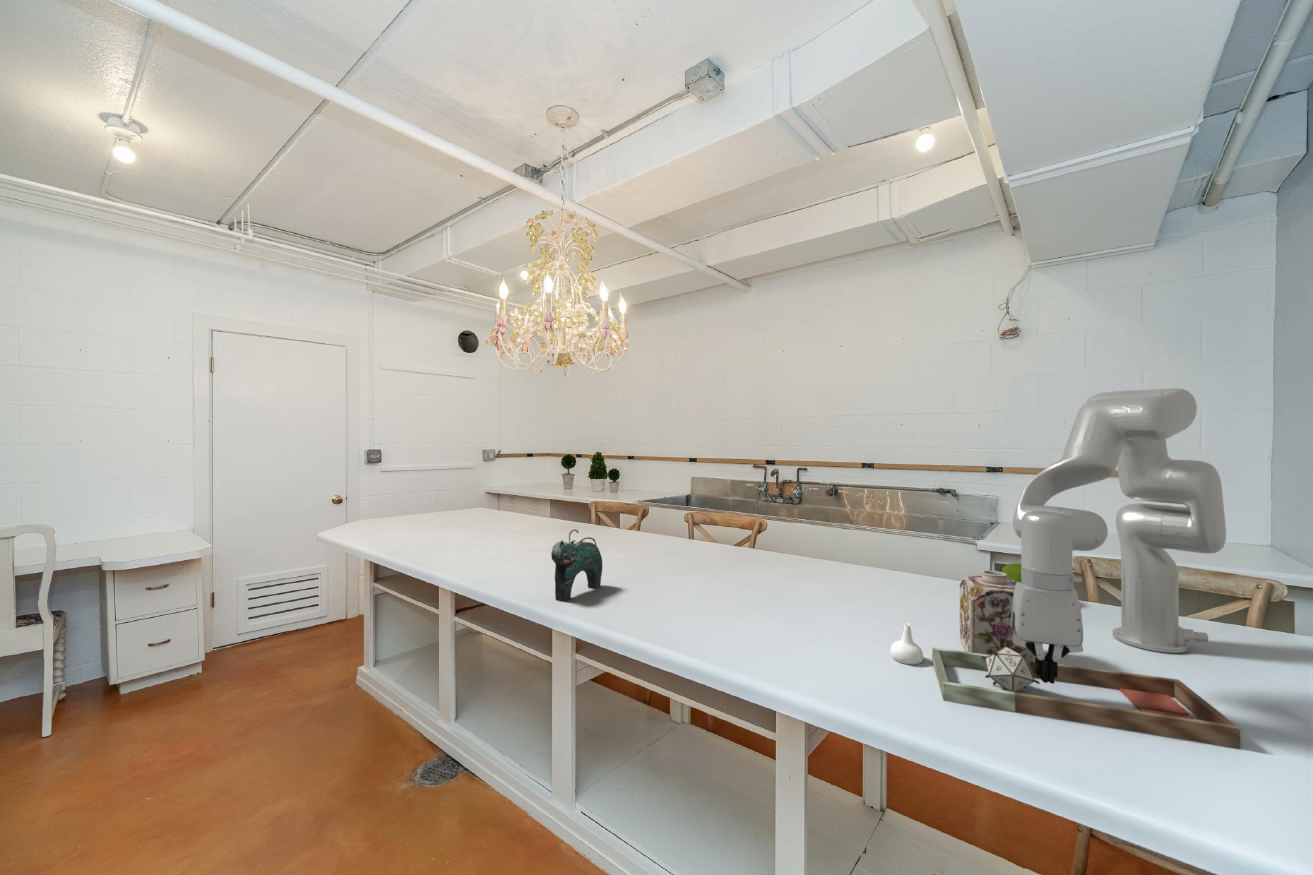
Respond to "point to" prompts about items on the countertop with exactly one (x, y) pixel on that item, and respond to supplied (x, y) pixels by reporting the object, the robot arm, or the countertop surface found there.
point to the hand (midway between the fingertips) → (1046, 679)
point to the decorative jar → (987, 614)
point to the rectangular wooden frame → (1141, 690)
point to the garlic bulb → (906, 649)
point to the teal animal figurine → (575, 565)
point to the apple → (1013, 571)
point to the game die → (1009, 669)
